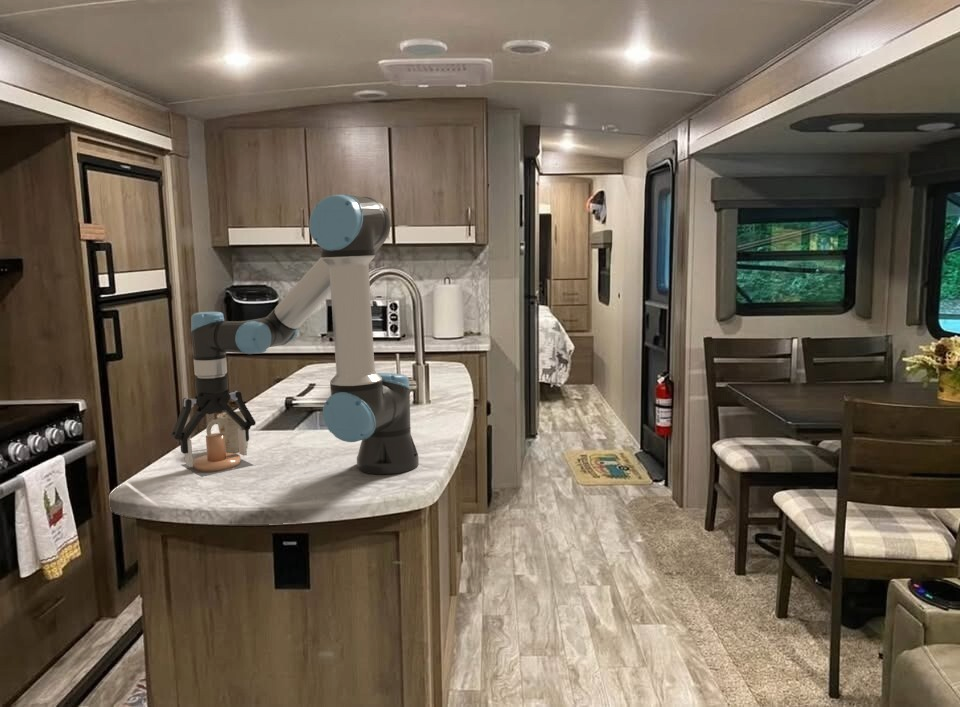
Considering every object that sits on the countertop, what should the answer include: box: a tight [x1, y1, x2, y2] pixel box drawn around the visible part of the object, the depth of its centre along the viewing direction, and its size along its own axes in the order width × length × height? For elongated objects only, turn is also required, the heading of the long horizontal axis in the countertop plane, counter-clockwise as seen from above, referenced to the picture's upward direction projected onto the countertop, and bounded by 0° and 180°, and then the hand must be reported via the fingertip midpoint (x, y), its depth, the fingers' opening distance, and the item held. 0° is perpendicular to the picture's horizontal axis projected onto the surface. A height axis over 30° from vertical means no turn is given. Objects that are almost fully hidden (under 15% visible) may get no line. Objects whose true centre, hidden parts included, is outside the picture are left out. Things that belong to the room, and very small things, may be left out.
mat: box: [181, 458, 254, 478], centre depth 184 cm, size 13×13×1 cm
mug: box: [206, 410, 249, 454], centre depth 198 cm, size 8×13×10 cm, turn 78°
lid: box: [193, 432, 241, 472], centre depth 184 cm, size 11×11×8 cm
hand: (216, 459), depth 184 cm, fingers open, 13 cm apart
